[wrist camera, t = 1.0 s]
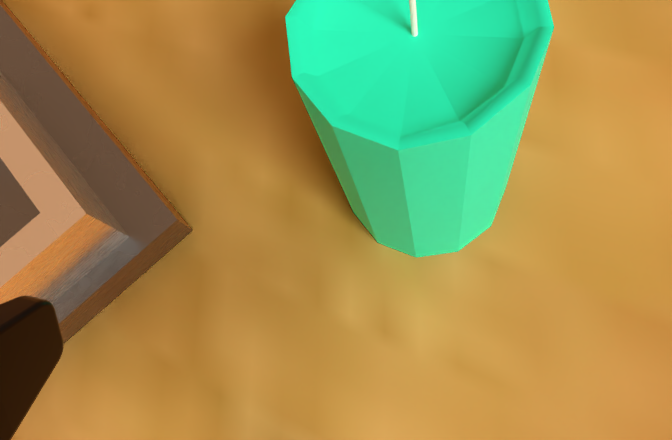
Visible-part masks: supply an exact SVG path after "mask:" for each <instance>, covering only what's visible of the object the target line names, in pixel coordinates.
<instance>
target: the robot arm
mask: <svg viewBox="0 0 672 440" xmlns="http://www.w3.org/2000/svg"><path fill="white" fill-rule="evenodd" d="M62 351H63V338H62V334H61V330H60V326H59V323H58V319H57V315H56V311H55V308H54V306H53V304H52V303H51V302H50V301H48V300H45V299H40V298H36V297H32V296H20V297H17V298H14V299H12V300H9V301H7V302H4V303H2V304H0V440H11V438H12V437H13V435H14V434H15V432H16V430H17V429H18V427H19V425H20V424H21V422H22V420H23V419H24V417H25V415H26V414H27V412H28V410H29V409H30V407H31V406H32V404H33V402H34V401H35V399H36V397H37V396H38V394H39V392H40V391H41V389H42V387H43V386H44V384H45V382H46V381H47V379H48V378H49V376H50V374H51V373H52V371H53V369H54V368H55V366H56V364H57V363H58V361H59V359H60V357H61V354H62Z"/></svg>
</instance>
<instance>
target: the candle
mask: <svg viewBox="0 0 672 440" xmlns="http://www.w3.org/2000/svg"><path fill="white" fill-rule="evenodd" d="M285 20H286V29H287V38H288V47H289V55H290V64H291V73H292V79H293V81H294V83H295V85H296V87H297V90H298V92H299V94H300V96H301V98H302V101H303V103H304V105H305V107H306V109H307V112H308V114H309V116H310V118H311V120H312V123H313V125H314V127H315V129H316V131H317V134H318V136H319V138H320V140H321V142H322V144H323V147H324V149H325V151H326V153H327V155H328V158H329V160H330V162H331V164H332V166H333V169H334V171H335V173H336V175H337V177H338V180H339V182H340V184H341V186H342V188H343V191H344V193H345V195H346V197H347V199H348V201H349V204H350V206H351V208H352V210H353V212H354V214H355V215H356V216H357V217H358V219H359V220H360V221H361V222H362V224H363V225H364V226H365V227H366V229H367V230H368V231H369V232H370V234H371V235H372V236H373V237H374V239H375V240H376V241H377V242H378V243H380V244H382V245H385V246H387V247H390V248H393V249H395V250H398V251H401V252H403V253H406V254H408V255H411V256H414V257H423V256H430V255H437V254H444V253H451V252H458V251H459V250H461V249H462V248H463V247H465V246H466V245H467V244H468V243H470V242H471V241H472V240H474V239H475V238H476V237H478V236H479V235H480V234H481V233H483V232H484V231H485V230H487V229H488V228H489V227H491V225H492V222H493V220H494V217H495V215H496V212H497V209H498V207H499V204H500V202H501V199H502V196H503V194H504V191H505V189H506V185H507V182H508V179H509V175H510V172H511V169H512V165H513V162H514V159H515V155H516V152H517V149H518V145H519V142H520V139H521V135H522V132H523V129H524V125H525V122H526V119H527V115H528V112H529V109H530V106H531V102H532V99H533V96H534V92H535V89H536V86H537V82H538V79H539V76H540V72H541V69H542V66H543V62H544V59H545V56H546V52H547V49H548V46H549V42H550V39H551V36H552V32H553V29H554V25H553V21H552V17H551V12H550V8H549V4H548V0H296V1H295V3H294V4H293V6H292V7H291V9H290V10H289V12H288V13H287V15H286V16H285Z"/></svg>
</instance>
